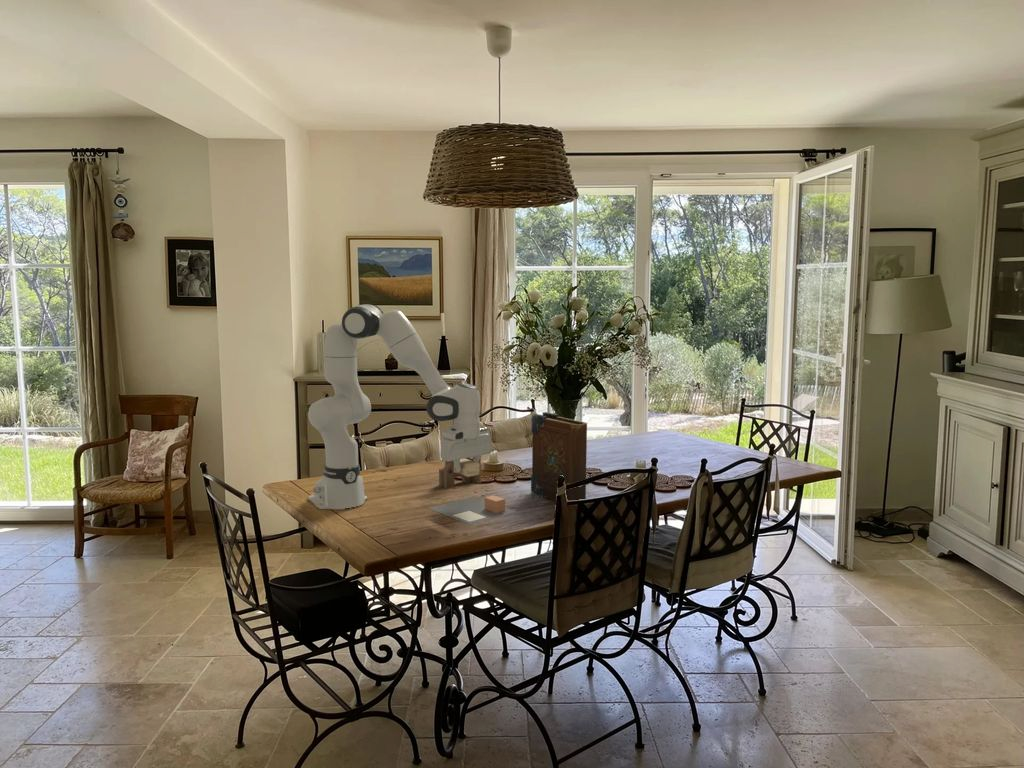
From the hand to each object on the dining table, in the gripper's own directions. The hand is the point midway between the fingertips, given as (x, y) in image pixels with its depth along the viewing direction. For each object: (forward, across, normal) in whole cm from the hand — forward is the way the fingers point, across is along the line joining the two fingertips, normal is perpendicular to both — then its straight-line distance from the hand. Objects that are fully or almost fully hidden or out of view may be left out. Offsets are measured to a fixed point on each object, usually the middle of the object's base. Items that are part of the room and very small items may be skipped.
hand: (466, 469), depth 259 cm
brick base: (+1, 0, 0) cm, 1 cm away
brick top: (+12, -3, +12) cm, 17 cm away
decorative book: (+13, -32, +14) cm, 38 cm away
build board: (+14, +3, +7) cm, 15 cm away
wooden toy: (+14, -17, -25) cm, 34 cm away
